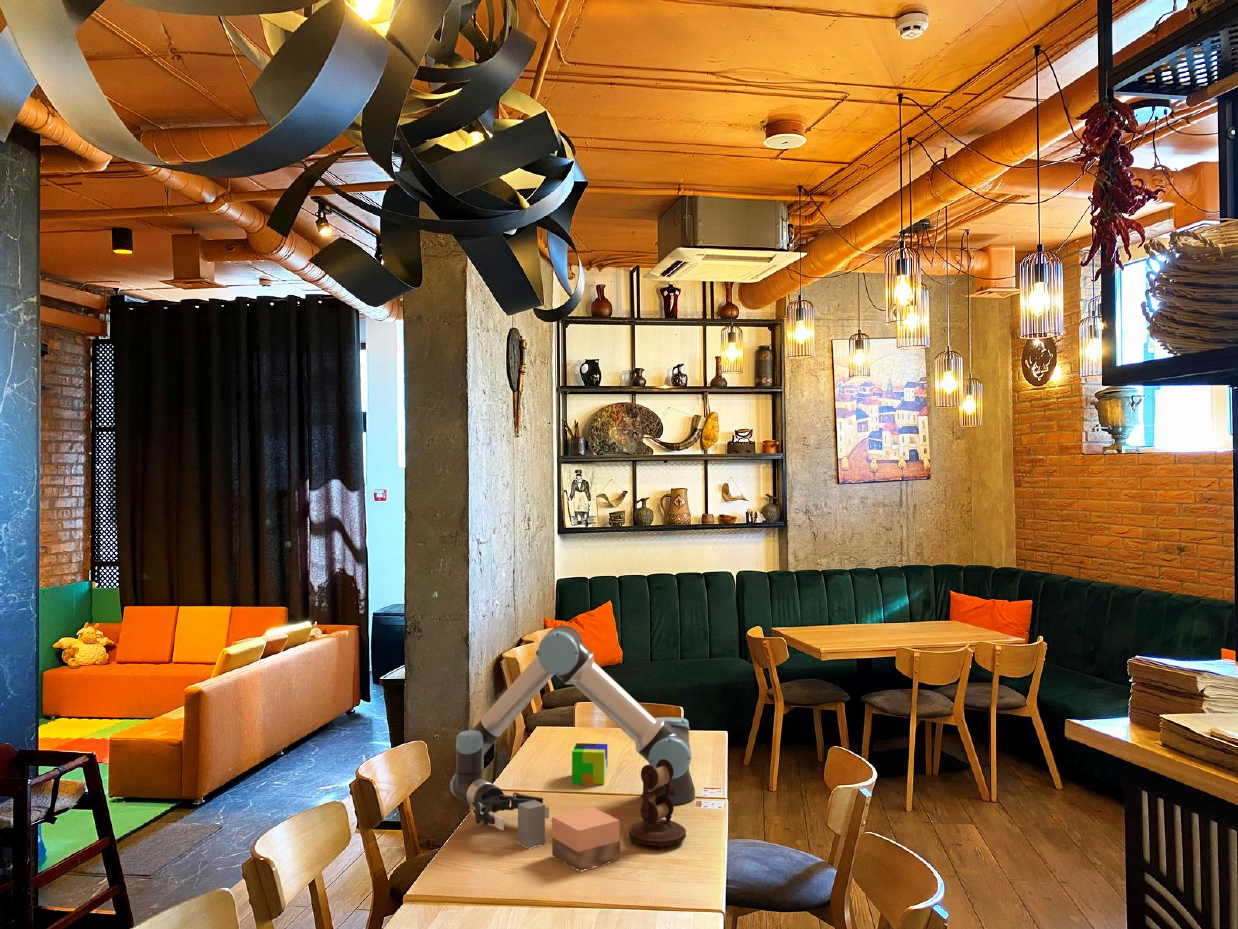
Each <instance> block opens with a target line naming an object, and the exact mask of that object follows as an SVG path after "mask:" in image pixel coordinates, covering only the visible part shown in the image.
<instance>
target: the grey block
mask: <svg viewBox="0 0 1238 929" xmlns="http://www.w3.org/2000/svg"><path fill="white" fill-rule="evenodd" d="M545 806H546V804H544V803H543V804H542V803H540V802H538V801H536V800H532V801H528V802H523V803H519V804H518V809H517V843H518V842H519V843H520V844H521V845H524V846H525V847H527V848H528V849H527V848H526V849H527V850H530V849H529V848H531V847H534V846H538V845H542V846H545V845H546V818H545ZM520 844H519V845H520ZM544 844H545V845H544ZM521 845H520V846H521ZM525 847H524V848H525Z"/></svg>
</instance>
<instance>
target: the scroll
mask: <svg viewBox="0 0 1238 929" xmlns="http://www.w3.org/2000/svg"><path fill="white" fill-rule="evenodd" d="M673 775H674V769H673V766H672V764H671V763H670V762H669V761H668V760H666V759H661V760H659V761H658V763H657V765H656V768H654V767H653V766H651V765H649V764H646V765H643V766H642V768H641V771H640V779H641V781H642V794H641V804H640V817H641V819H642V820H640V821H638V822H635V823H634V824H633V825H631V826H630V827H629V828H628V837H629V841H630V842H632V841H633V842H635V843H639V844H641V845H644V846H645V845H647V846H655V847H656V846H657V847H658V848H659V850H662V851H663V849H664V846H670V845H671V846H672V845H674V844H679V843H680V842H683V841H684V840H686V836H687V830H686V828H685V827H684V826H683V825H682V824H680V823H678V822H676V821H673V820H671V819H672V815H673V813H674V805H673V803H672V801H671V796H670V792H671V790H672V784H671V783H670V782H671V779H672V778H673ZM662 785H664V786H662ZM660 786H662V787H661V788H657V787H660ZM656 788H657V789H656ZM662 792H666V795H660V796H659V797H658V798H657V800H656V803H655V796H656V795H659V794H661V793H662ZM664 818H665V819H664Z"/></svg>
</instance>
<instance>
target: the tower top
mask: <svg viewBox="0 0 1238 929" xmlns="http://www.w3.org/2000/svg"><path fill="white" fill-rule="evenodd" d="M620 823H621V822H620V820H619V819H618V818H616V817H613V816H612V815H609V814H608V813H605V812H603V811H601V810H599V809H597V808H596V807H593V806H590V807H586V808H582V809H578V810H573V811H569V812H565V813H561V814H558V815H552V816H551V838H552V837H553V838H554V839H556V840H558V841H559V842H561V843H563V844H565V845H566V846H568V847H570V848H572V849H573V850H575V851H577V852H582V851H585V850H589V849H593V848H596V847H600V846H604V845H607V844H611V843H615V842H618V841H620V842H621V840H620V833H621V832H620Z"/></svg>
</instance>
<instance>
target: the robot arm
mask: <svg viewBox="0 0 1238 929" xmlns="http://www.w3.org/2000/svg"><path fill="white" fill-rule="evenodd" d="M583 642H584V641H583V638H582V636H581V634H580V633H579V632H578V630H576V629H575V628H574V627H571V626H569V625H558V626H555V627H553V628H552V629H550V630H549V631H548V632H547V633H546V635H544V636H543V638H542V639H541V641H540V642H539V643H538V644H539V645H538V648H537V650H536V651H535V652H534V653H535V654H534V656H535V658H533V659H532V661H531V662H530V663H529V664H528V665H527V666H526V668H525V669H524V670H523V671H522V672H521V673H520V675H519V676H518V677H517V678H516V679H515V680H514V682H512V683H511V685H510V686H509V687H508V688H507V689H506V690H505V692H504V693H503V694H502V695H501V696H500V697H499V698H498V700H496V702H495V703H494V704H493V705H492V706H491V707H490V708H489V710H488V711H487V712H486V713H485V715H484V716H483V717H482V718H481V719H480V721H478V722H477V723H476V725H475V726H474V727H473V728H471V730H464V731H460V732H459V733H458V734H457V735H456V743H455V749H456V750H455V752H456V753H455V755H456V756H455V761H456V762H455V765H456V767H455V768H456V770H455V773H454V774H453V776H452V778H451V779H450V782H449V788H450V793H452V795H453V796H454V797H456V799H458V800H459V801H461V802H464V803H467V805H470V806H472V813H474V814H475V815H474V816H475V824H481V823H483V826H484V827H486V826H489V825H492V826H494V827H495V828H497V829H498V830H500V831H505V818H504V817H502V816H500V815H498V814H496V813H498V812H499V811H514V810H518V804H519V803H523V802H528V801H532V800H536V801H538V802H540V803H542V804H544V798H543V797H539V796H533V795H526V794H523V793H522V794H521V793H518V792H513V793H512V795H506V794H504V792H503V790H502V789H501V788H500V787H499V786H496V785H494V784H493V783H491V782H489V781H486V780H485V779H483V774H484V773H483V770H484V769H483V767H484V766H483V762H484V760H483V759H484V756H485V755H486V753H487V752H488V750H489V749H490V748H491V747H492V746H493V745H494V743H495V742H496V741H497V740H498V739H499V738H500V737H501V735H502V734H503V733H504V732H505V731H506V730H507V728H508V727H509V726H510V725H511V724H512V722H514V721H515V719H516V718H517V717H518V716H519V715H520V713H522V712H523V710H525V708H526V707H527V706H528V705H529V704H530V702H532V700H534V698H535V697H536V695H537V694H538V693H539V692H540V691H541V690H542V689H543V688H544V686H545V685H546V684H548V683H549V681H550V680H551V679H552V678H553V676H556V677H557V678H558V679H560V681H562V682H563V684H565V685H574V686H575V687H576V688H577V690H579V691H580V692H581V693H582V694H583V695H584V696H586V698H588V700H590V701H591V703H593V704H594V705H595V706H596V707H597V708H598V709H599V710H601V711H602V713H604V715H606V717H608V718H609V719H610V720H611V721H612V722H613V723H614V724H615V725H616V726H617V727H618V728H619V729H620V730H622V731H623V733H625V735H627V736H628V737H629V738H630V739H631V741H633V742H634V743H635V751H636V752H637V753H638V754H639V755H640V756H641V757H642V758H643V759H644V760H646V761H647V763H648V765H651V766H653V767H654V768H656V765H657V763H658V761H659V760H661V759H666V760H668V761H669V762H670V763H671V764H672V766H673V769H674V775H673V778H672V779H671V782H670V783H671V784H672V790H671V792H670V796H671V801H672V803H673V806H674V805H682V804H687V803H691V802H692V801H694V800H695V798H696V788H695V786H694V783H693V778H692V775H691V771H690V764H691V761H692V750H691V745H690V726H689V725H690V724H689V720H688V719H686V718H683V717H672V716H671V717H667V716H664V717H655V716H654V717H653V715H652V714H650V713H649V711H647V709H645V707H643V706H642V705H641V704H640V703H639V702H638V701H637V700H636V699H635V698H633V697H632V696H631V694H630V693H628V691H626V690H625V689H624V688H623V687H622V686H621V685H620V684H619V683H618V682H616V681H615V680H614V678H612V677H611V676H610V675H609V674H608V673H607V672H605V670H603V669H602V667H600V665H598V664H597V663H596V662H595V660H594V653H593V652H592V651H591V650H590V649H589V648H588V647H587V646H586V645H585V644H584V643H583ZM662 786H664V785H662ZM662 786H660V787H657V788H661V787H662ZM657 788H656V789H657ZM660 795H666V792H662V793H661V794H659V795H656V796H655V804H656V800H657V798H658V797H659V796H660ZM545 819H550V807H549V806H547V805H545Z"/></svg>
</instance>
